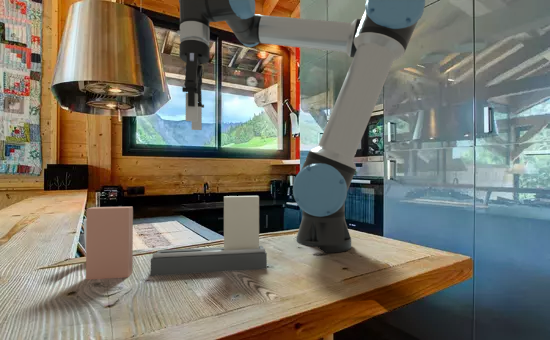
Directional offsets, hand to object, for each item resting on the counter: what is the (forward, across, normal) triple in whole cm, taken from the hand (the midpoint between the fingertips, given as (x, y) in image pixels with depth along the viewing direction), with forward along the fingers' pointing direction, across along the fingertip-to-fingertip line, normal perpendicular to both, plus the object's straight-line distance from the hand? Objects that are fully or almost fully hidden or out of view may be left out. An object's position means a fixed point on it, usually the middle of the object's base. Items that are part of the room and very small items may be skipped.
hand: (194, 125), depth 76 cm
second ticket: (+31, +18, +11) cm, 38 cm away
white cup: (+33, +4, -20) cm, 39 cm away
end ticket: (+33, +20, -13) cm, 40 cm away
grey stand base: (+33, +18, +5) cm, 38 cm away
